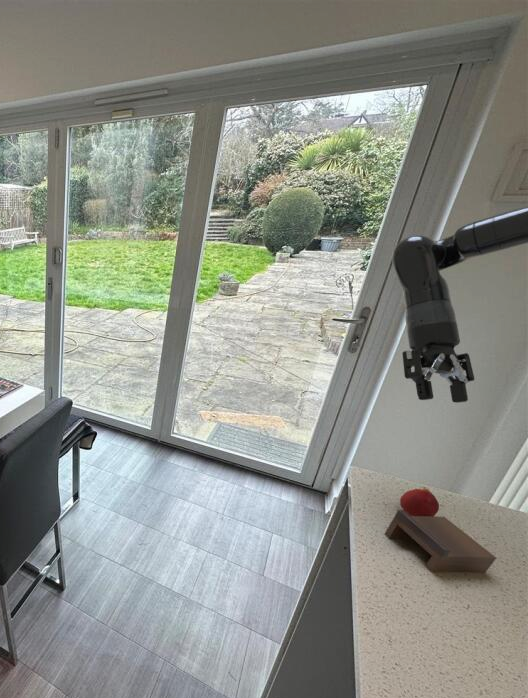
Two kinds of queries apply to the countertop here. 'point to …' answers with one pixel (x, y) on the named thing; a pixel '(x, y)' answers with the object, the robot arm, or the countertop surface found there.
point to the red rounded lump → (419, 502)
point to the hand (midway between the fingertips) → (443, 400)
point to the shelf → (442, 543)
